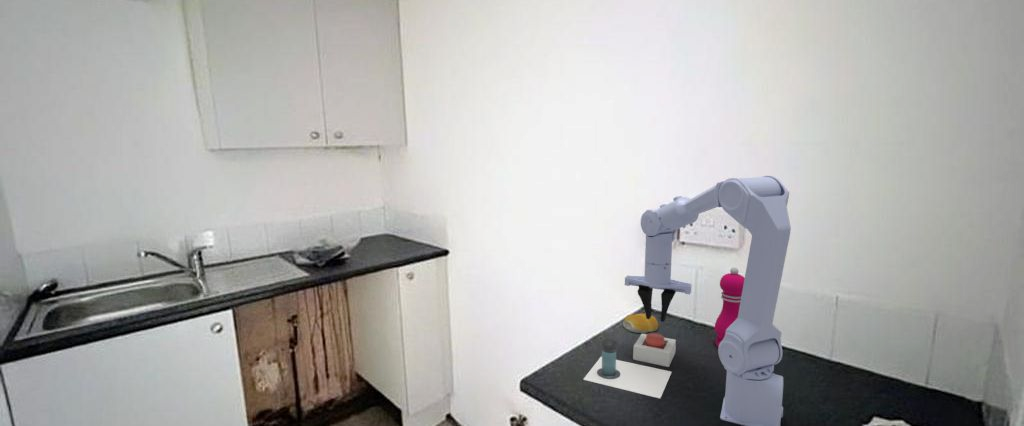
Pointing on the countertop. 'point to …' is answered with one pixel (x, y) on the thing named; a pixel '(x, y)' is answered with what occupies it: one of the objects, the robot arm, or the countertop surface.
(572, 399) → the countertop surface
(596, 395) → the countertop surface
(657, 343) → the button
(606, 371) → the teal cylinder
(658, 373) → the paper
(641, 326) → the bread roll
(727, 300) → the pepper mill
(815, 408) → the countertop surface
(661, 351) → the button housing
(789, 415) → the countertop surface
